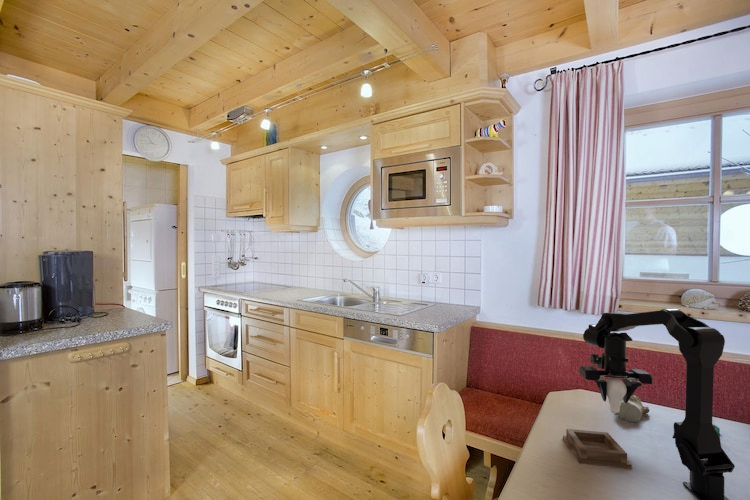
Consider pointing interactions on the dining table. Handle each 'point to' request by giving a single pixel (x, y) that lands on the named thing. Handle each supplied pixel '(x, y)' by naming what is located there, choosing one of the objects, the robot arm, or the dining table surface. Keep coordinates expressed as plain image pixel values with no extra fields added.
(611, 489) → the dining table surface
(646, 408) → the ceramic sculpture
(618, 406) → the lightbulb
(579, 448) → the bulb holder
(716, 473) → the robot arm
